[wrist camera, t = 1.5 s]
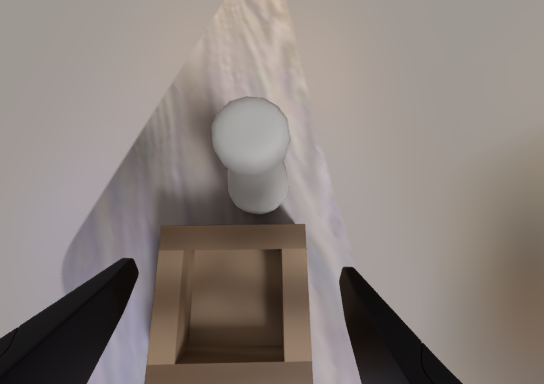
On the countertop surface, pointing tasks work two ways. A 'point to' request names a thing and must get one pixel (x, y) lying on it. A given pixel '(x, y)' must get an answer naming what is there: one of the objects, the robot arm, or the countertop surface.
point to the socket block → (231, 306)
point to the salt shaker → (253, 152)
